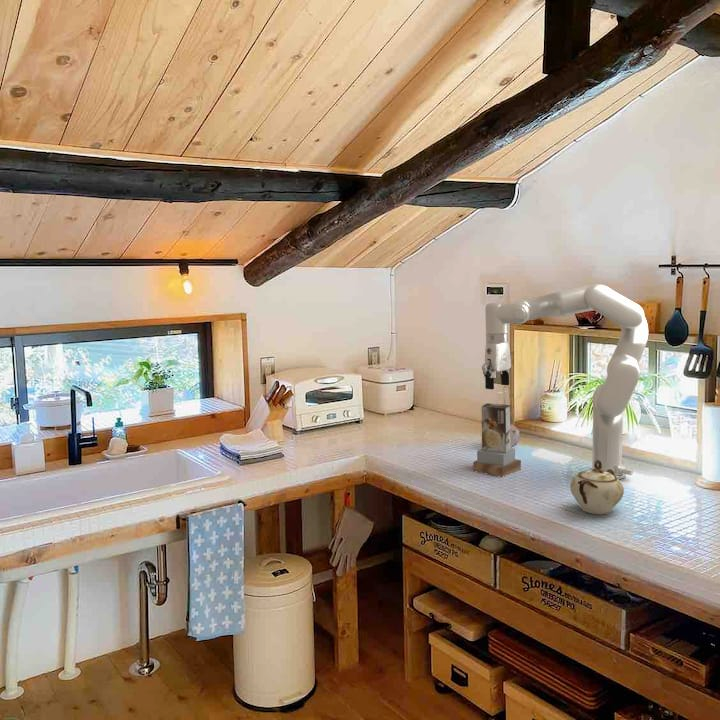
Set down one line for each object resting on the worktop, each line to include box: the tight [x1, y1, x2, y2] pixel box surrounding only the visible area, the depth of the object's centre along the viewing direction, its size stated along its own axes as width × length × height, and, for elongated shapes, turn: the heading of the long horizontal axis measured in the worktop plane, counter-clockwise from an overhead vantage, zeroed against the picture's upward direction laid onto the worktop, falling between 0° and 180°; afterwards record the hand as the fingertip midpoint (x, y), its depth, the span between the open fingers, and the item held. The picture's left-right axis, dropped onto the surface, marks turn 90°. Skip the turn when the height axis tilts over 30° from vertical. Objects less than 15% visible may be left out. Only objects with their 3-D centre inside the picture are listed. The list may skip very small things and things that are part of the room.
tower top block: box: [476, 447, 516, 466], centre depth 252 cm, size 10×10×4 cm
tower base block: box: [472, 458, 522, 478], centre depth 253 cm, size 12×12×4 cm
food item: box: [510, 423, 521, 448], centre depth 285 cm, size 14×8×10 cm, turn 139°
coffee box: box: [481, 403, 512, 453], centre depth 251 cm, size 9×6×16 cm
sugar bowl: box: [569, 460, 625, 515], centre depth 209 cm, size 20×15×15 cm
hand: (497, 387), depth 249 cm, fingers open, 9 cm apart
